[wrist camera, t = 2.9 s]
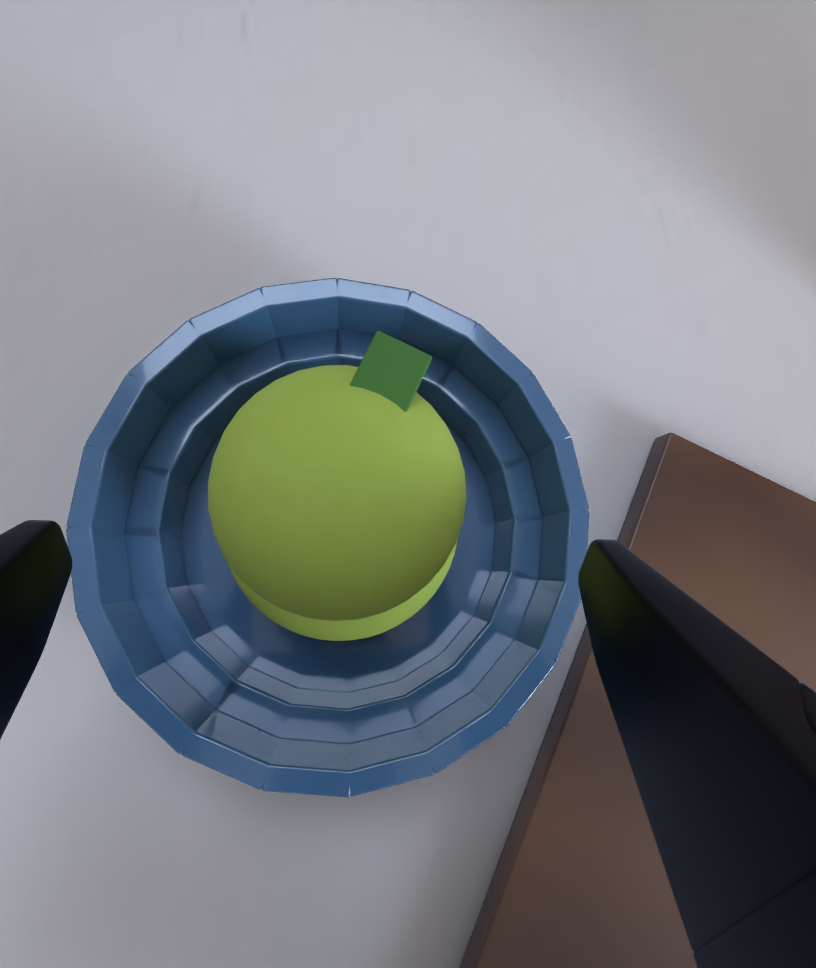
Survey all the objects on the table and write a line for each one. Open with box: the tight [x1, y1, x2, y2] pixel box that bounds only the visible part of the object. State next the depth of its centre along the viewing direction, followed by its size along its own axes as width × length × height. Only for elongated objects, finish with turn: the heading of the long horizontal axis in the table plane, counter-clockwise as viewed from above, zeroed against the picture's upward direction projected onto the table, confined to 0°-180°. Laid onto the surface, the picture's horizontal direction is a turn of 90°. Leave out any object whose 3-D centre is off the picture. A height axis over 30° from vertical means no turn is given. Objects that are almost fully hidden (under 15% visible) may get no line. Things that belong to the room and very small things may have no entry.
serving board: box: [460, 433, 816, 968], centre depth 18 cm, size 22×16×1 cm
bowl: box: [66, 278, 589, 797], centre depth 16 cm, size 13×13×4 cm
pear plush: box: [208, 331, 467, 641], centre depth 12 cm, size 6×6×11 cm
